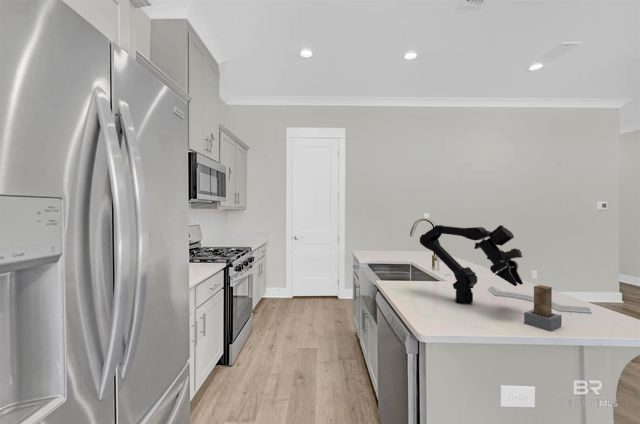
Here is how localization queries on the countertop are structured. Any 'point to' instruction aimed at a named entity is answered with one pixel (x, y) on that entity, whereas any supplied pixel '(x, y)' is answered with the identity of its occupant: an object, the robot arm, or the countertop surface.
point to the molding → (531, 298)
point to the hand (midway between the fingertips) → (519, 284)
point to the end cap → (543, 320)
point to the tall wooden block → (543, 300)
